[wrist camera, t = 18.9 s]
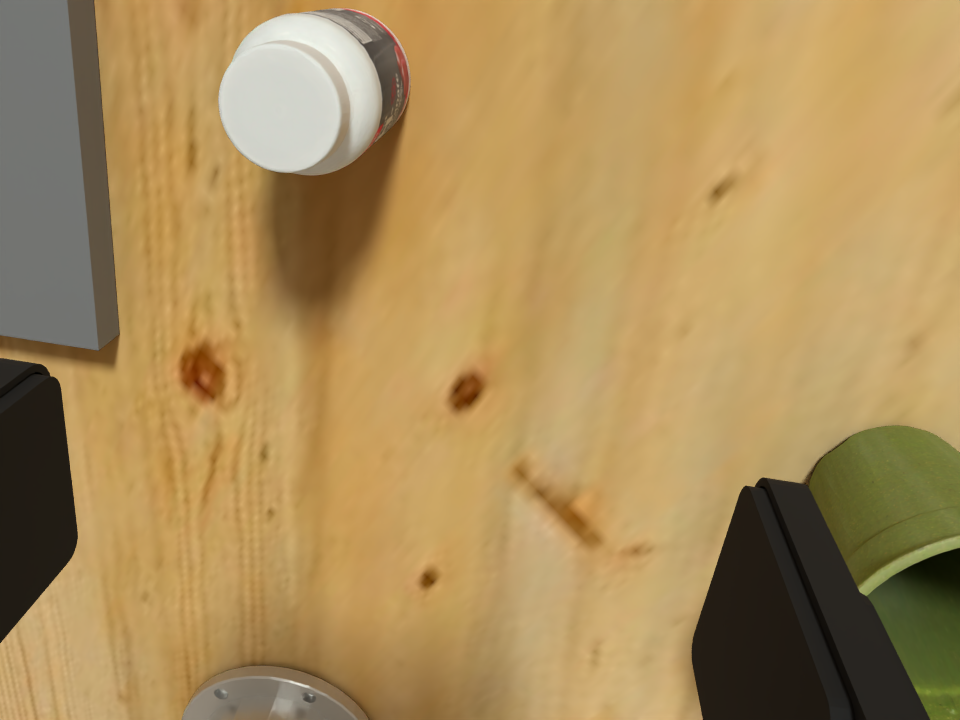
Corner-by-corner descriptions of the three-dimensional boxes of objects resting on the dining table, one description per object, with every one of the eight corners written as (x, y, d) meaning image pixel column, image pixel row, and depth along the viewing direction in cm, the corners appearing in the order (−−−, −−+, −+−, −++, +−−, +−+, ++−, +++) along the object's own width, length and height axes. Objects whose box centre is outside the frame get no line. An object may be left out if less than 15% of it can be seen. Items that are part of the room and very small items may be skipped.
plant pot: (722, 437, 40) (777, 594, 30) (973, 342, 37) (1131, 483, 26) (801, 607, 44) (873, 796, 34) (1033, 535, 41) (1191, 721, 30)
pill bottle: (398, 156, 35) (344, 215, 27) (279, 122, 35) (185, 170, 26) (426, 27, 33) (377, 45, 24) (298, -10, 33) (203, -5, 24)
